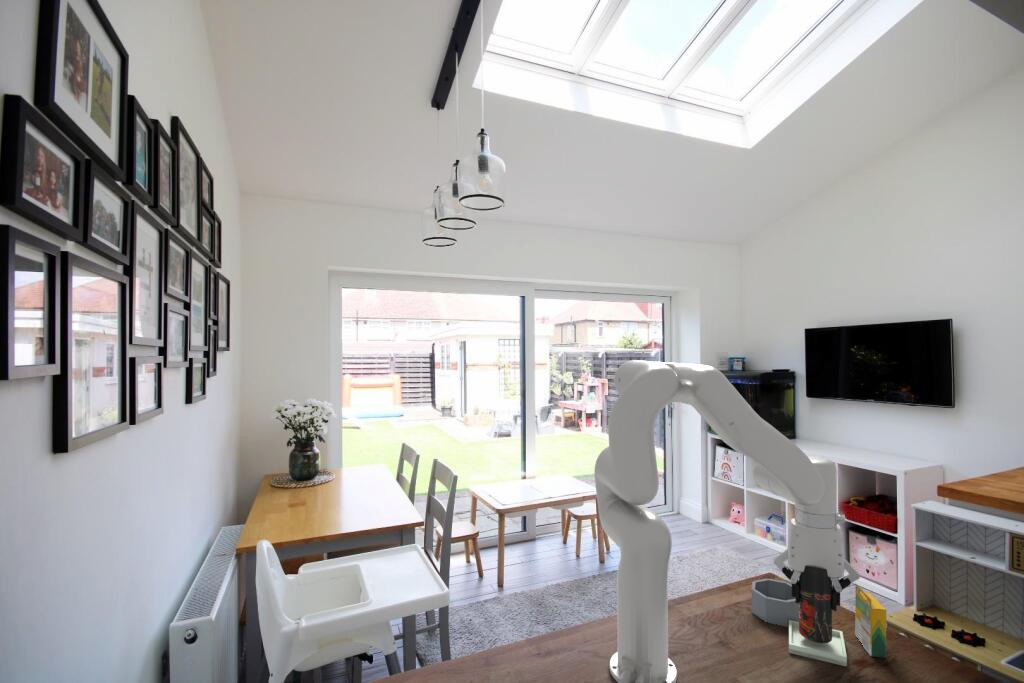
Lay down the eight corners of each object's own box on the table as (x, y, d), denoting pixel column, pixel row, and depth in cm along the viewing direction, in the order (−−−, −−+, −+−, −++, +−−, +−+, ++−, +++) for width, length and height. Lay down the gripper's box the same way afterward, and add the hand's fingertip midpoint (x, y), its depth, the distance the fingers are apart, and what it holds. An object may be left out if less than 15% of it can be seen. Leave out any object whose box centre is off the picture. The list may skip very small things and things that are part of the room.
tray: (846, 666, 102) (846, 657, 102) (788, 652, 107) (788, 643, 107) (842, 639, 111) (842, 631, 111) (788, 627, 116) (788, 619, 116)
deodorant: (838, 643, 106) (838, 569, 106) (808, 643, 106) (808, 569, 106) (821, 626, 112) (821, 557, 112) (793, 626, 112) (793, 557, 112)
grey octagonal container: (802, 630, 115) (802, 605, 115) (750, 618, 120) (750, 594, 120) (801, 608, 124) (801, 584, 124) (753, 598, 129) (753, 575, 129)
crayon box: (887, 658, 105) (887, 600, 105) (870, 657, 105) (870, 599, 105) (870, 637, 112) (870, 583, 112) (854, 636, 113) (854, 582, 112)
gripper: (862, 518, 108) (862, 605, 108) (769, 506, 116) (769, 587, 116) (867, 531, 101) (867, 623, 102) (768, 517, 109) (768, 603, 110)
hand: (815, 603), depth 109 cm, fingers closed on deodorant, 6 cm apart
